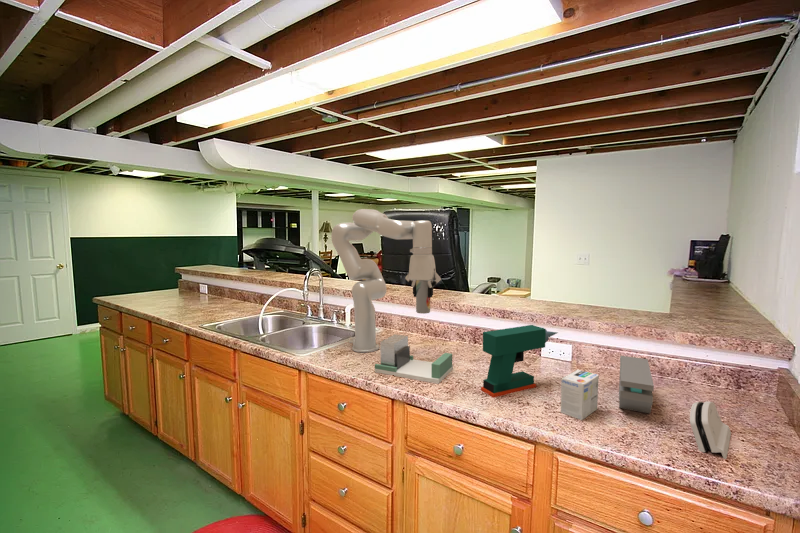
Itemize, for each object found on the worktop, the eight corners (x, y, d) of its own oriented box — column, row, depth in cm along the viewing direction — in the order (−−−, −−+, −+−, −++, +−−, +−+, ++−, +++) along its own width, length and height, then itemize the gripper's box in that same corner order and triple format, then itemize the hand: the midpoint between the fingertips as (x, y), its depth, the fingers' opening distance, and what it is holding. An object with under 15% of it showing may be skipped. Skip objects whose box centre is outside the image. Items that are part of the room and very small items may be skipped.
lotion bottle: (432, 311, 155) (432, 262, 153) (427, 314, 150) (427, 263, 148) (418, 310, 157) (419, 262, 155) (414, 313, 152) (414, 263, 150)
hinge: (726, 459, 89) (710, 416, 90) (701, 458, 92) (686, 416, 93) (731, 432, 101) (716, 394, 102) (709, 431, 104) (695, 395, 105)
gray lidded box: (619, 386, 131) (620, 355, 130) (646, 390, 127) (647, 359, 126) (619, 417, 109) (620, 380, 108) (651, 423, 105) (653, 385, 104)
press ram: (380, 367, 147) (380, 341, 146) (395, 357, 158) (394, 334, 157) (396, 370, 144) (396, 344, 143) (410, 360, 154) (410, 336, 154)
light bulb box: (575, 401, 119) (577, 368, 118) (598, 409, 114) (599, 374, 113) (559, 412, 112) (560, 377, 111) (582, 421, 107) (584, 384, 106)
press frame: (374, 372, 146) (374, 355, 145) (394, 359, 160) (393, 344, 160) (438, 383, 134) (438, 366, 134) (453, 369, 149) (453, 352, 148)
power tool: (549, 373, 143) (550, 321, 141) (564, 380, 137) (565, 325, 135) (479, 389, 129) (480, 331, 127) (493, 397, 123) (494, 337, 121)
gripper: (398, 252, 151) (399, 297, 153) (439, 252, 144) (440, 299, 146) (406, 251, 158) (407, 294, 160) (446, 251, 151) (446, 296, 153)
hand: (422, 296), depth 153 cm, fingers closed on lotion bottle, 5 cm apart
